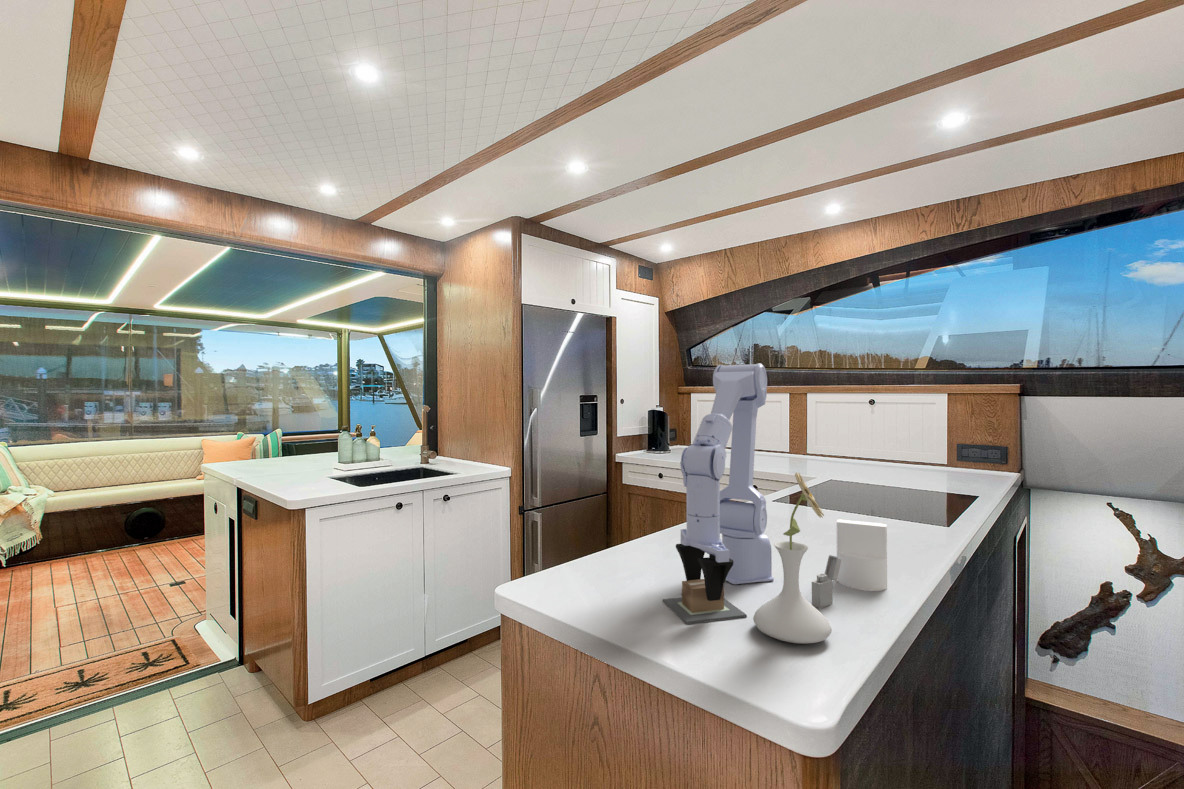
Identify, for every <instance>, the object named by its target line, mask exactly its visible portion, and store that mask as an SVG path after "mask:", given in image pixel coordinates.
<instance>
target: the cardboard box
mask: <svg viewBox="0 0 1184 789" xmlns="http://www.w3.org/2000/svg"><path fill="white" fill-rule="evenodd" d="M681 597H682V604H683V605H684V606H685V607H686V608H687V609H689V610H690V611H691V612H692V613H695V612H703V611H711V610H720V609H724V599H725V585H724V586H723V590H722V594H721V598H720V600H714V601H709V600H707V596H706V590H705V580H704V578H701V579H699V580H689V581H687V580H682V581H681Z"/></svg>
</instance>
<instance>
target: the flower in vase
mask: <svg viewBox="0 0 1184 789" xmlns="http://www.w3.org/2000/svg"><path fill="white" fill-rule="evenodd" d="M794 477H795V480H796V482H797V484H798V486H799V488H800V490H801V494H800V497H799V499H798V501H797V503H796V504H795V506H794V509H793V511H792V513H791V517H790V520H789V522H790V523H789V529H788V530H787V531H785V532H784V533H783V535H784V536H787V537H789V541H787V540H786V541H783V540H782V541H777V542H774V544H773V545H774V547H775V549H776V550H777V553H778V554H779V556H780V559H781V564H782V569H783V570H782V572H783V585H782V590H781V591H780V592H779V594H778V595H777V596H775V597H774V598H772V599H770V600H769V601H767V602H766V603H764V604H762V605H761V606H760V607H758V609H756V611H755V612H754V615H753V619H752V620H753V622H754V625H755V626H756V628H757V629H758V630H759V631H760V632H761V633H763V634H765V635H766V636H769V637H770V638H771V637H772V638H774V639H777V640H778V641H782V642H787V643H791V644H801V645H802V644H805V645H806V644H815V643H819V642H823V641H825V640H826V639H827V638H828V637H829V636H830V635H831V633H832V627H831V624H830V622H829V620H828V619H827V618H826V616H824V615H823V613H822V612H820V611H819V610H818V609H817V607H814V606H812V603H810V602H809V601H808V600H807V599H806V598H805V597H804V596H803V594H802V592H801V589H800V588H801V587H800V581H799V580H800V568H801V564H802V560H803V557H804V555H805V553H807V551H808V550H809V546H808V545H806V544H804V543H801V542H795V541H793V536H794V535H796V534H799V533H800V532H801V529H800V527H799V525H798V523H797V520H796V519H795V518H794V517H795V514H796V511H797V509H798V507H799V505H800V503H801V502H802V501H804V502H805V501H806V502H808V505H810V507H811V509H812V510H813V512H814V513H815V514H816V516H818V517H819V519H821V518H823V517H824V516H825V515H824V512H823V511H822V508H821V507H820V506H819V504H818V503H817V502H816V499H815V497H814V496H813V494H812V492H811V490H810V489H809V487H808V485H807V483H806V481H804V479H803V476H802V475H801V473H800V472H797V471H796V472H795V473H794Z"/></svg>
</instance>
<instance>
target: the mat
mask: <svg viewBox="0 0 1184 789" xmlns="http://www.w3.org/2000/svg"><path fill="white" fill-rule="evenodd" d="M662 602H663V603H664V604H665V605H666V606H667V608H670V610H672V612H673V613H674V614H676V616H678V617H679V619H681V621H683V622H684V623H685V624H686V625H690V624H691V625H692V624H699V623H709V622H710V623H711V622H718V621H724V620H734V619H742V618H747V617H748V615H747V614H746V613H745V612H744V611H742V610H741V609H739V608H738V607H737V606H736V605H734V604H733V603H732V602H730V601H728V600H727V599H726V598H724V609H720V610H711V611H703V612H695V613H692V612H691V611H690V610H689V609H687V608H686V607H685V606H684V605H683V604H682V596H680V597H669V598H668V597H667V598H663V599H662Z"/></svg>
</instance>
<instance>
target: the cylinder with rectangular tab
mask: <svg viewBox="0 0 1184 789" xmlns="http://www.w3.org/2000/svg"><path fill="white" fill-rule="evenodd" d="M836 557H838V558H840V559H841V564H840V568H839V573H838V577H837V581H836V582H838V583H839V584H840V585H843V586H845V587H847V588H851V589H855V590H861V591H867V592H879V591H885V590H886V589H888V525H887V524H886V523H884V522H883V523H880V522H870V521H862V520H849V519H840V518H837V520H836Z"/></svg>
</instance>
